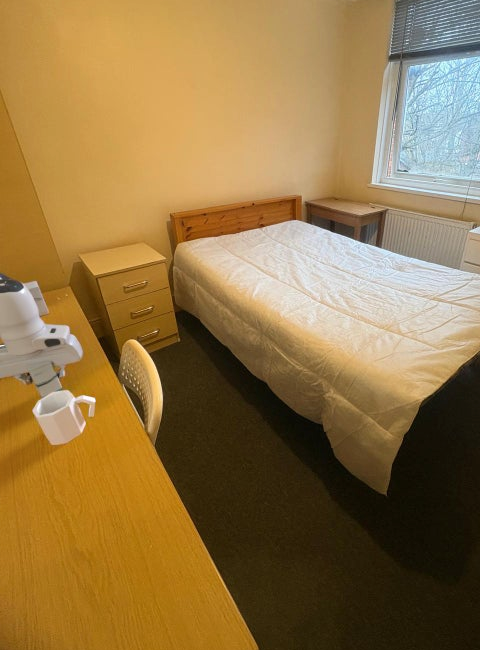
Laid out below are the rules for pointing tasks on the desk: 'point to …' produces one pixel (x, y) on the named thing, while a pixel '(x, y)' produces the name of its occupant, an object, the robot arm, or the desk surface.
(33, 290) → the white packaging box
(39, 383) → the ink box
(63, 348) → the robot arm
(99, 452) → the desk surface
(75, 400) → the mug
